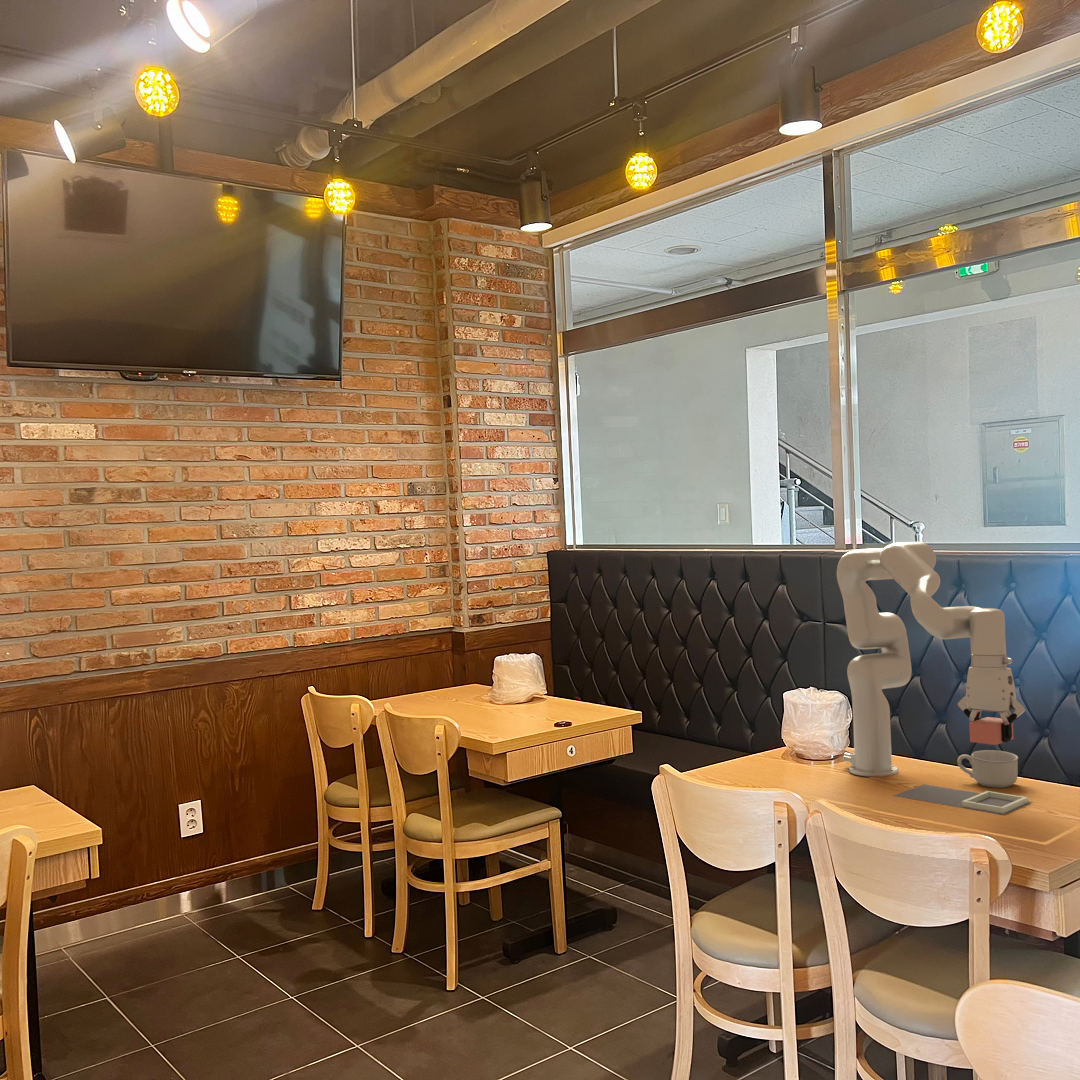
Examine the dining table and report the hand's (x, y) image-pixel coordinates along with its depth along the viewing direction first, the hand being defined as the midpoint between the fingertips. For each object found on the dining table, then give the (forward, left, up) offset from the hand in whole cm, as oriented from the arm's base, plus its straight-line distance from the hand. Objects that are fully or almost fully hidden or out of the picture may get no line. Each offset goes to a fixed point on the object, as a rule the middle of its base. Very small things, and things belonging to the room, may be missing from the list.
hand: (991, 738), depth 238 cm
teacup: (-10, +18, -16) cm, 26 cm away
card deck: (0, 0, 0) cm, 0 cm away
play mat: (-8, 0, -16) cm, 18 cm away
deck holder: (0, 0, -15) cm, 15 cm away
